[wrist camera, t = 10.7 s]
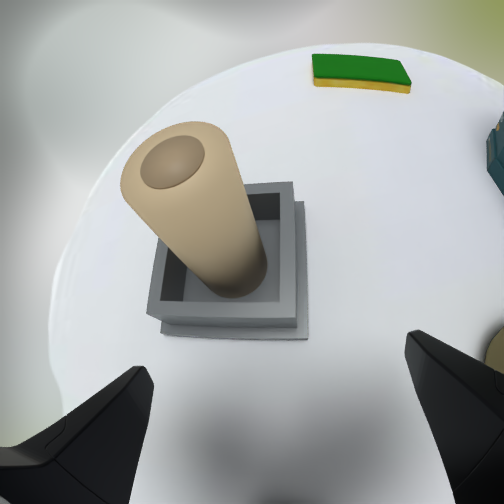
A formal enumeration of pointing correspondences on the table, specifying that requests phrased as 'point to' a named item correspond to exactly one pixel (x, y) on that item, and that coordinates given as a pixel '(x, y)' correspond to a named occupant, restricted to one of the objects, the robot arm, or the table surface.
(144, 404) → the robot arm
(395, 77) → the dish sponge
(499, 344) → the squeeze bottle
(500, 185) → the dark green canister
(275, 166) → the table surface
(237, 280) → the paper roll
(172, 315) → the square tray
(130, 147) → the table surface
